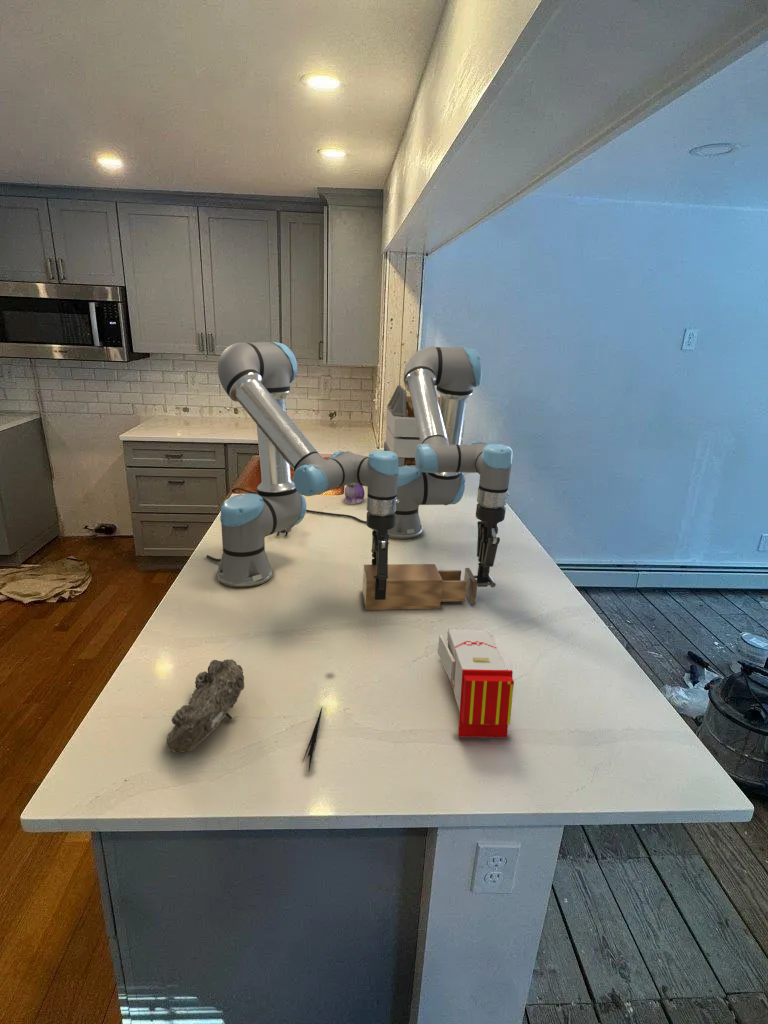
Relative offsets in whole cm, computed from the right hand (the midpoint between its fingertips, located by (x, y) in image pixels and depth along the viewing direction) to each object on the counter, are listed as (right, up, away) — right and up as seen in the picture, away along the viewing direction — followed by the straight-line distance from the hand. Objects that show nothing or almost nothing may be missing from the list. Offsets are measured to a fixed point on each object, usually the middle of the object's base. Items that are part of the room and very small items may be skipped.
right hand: (481, 585), depth 156 cm
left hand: (-28, -1, -3) cm, 29 cm away
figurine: (-39, +24, +75) cm, 88 cm away
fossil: (-60, -19, -48) cm, 79 cm away
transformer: (-10, +39, +119) cm, 126 cm away
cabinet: (-22, -4, -1) cm, 23 cm away
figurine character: (-62, +13, +42) cm, 76 cm away
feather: (-39, -20, -47) cm, 64 cm away
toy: (-9, -17, -37) cm, 42 cm away
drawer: (-9, -3, 0) cm, 10 cm away
